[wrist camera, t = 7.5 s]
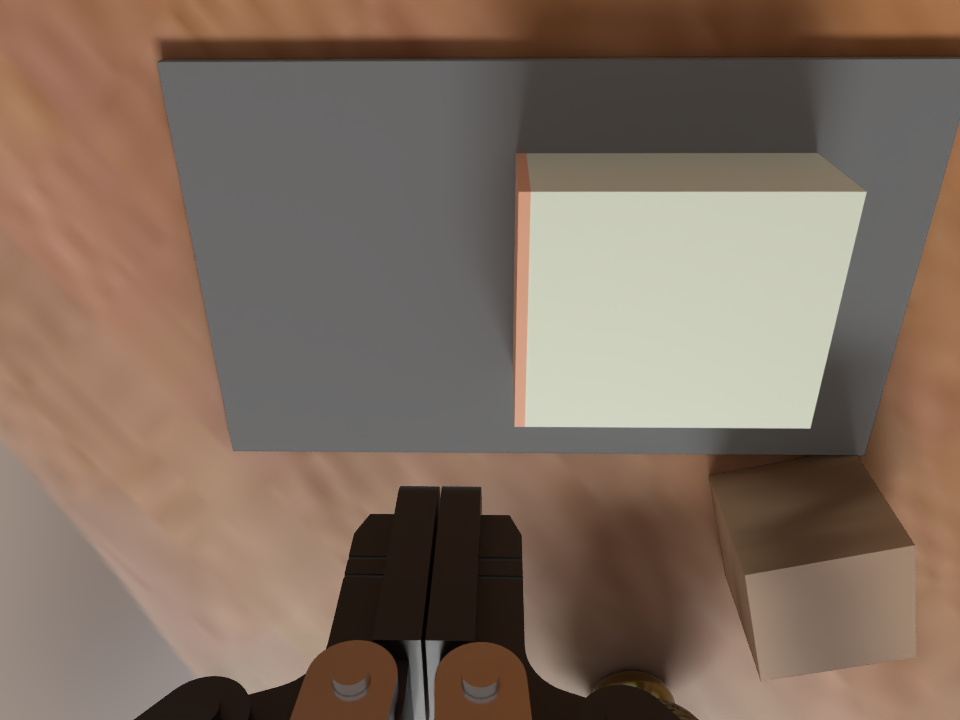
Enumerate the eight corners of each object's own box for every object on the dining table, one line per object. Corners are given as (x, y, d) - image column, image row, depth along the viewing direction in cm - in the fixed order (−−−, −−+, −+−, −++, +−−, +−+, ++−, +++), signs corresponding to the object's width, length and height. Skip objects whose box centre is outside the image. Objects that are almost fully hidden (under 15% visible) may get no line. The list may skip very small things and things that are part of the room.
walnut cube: (851, 446, 28) (915, 545, 24) (857, 550, 31) (916, 657, 26) (708, 474, 29) (744, 575, 25) (724, 573, 31) (761, 681, 27)
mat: (969, 56, 22) (977, 58, 21) (860, 448, 28) (864, 455, 28) (162, 59, 22) (156, 61, 22) (236, 444, 29) (233, 451, 28)
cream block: (516, 153, 23) (817, 152, 23) (512, 366, 26) (774, 367, 26) (518, 192, 20) (866, 191, 20) (514, 426, 23) (810, 428, 23)
